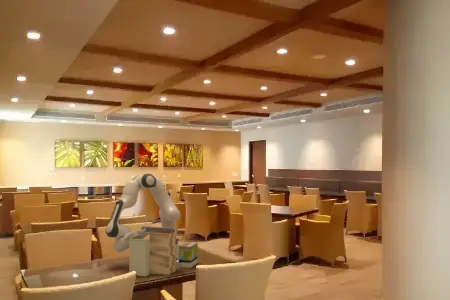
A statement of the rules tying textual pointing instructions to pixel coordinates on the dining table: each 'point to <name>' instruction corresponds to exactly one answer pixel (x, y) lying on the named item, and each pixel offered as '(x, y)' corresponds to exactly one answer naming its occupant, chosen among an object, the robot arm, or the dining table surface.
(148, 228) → the bar
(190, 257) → the tea box
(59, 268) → the dining table surface
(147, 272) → the block
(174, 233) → the stand
